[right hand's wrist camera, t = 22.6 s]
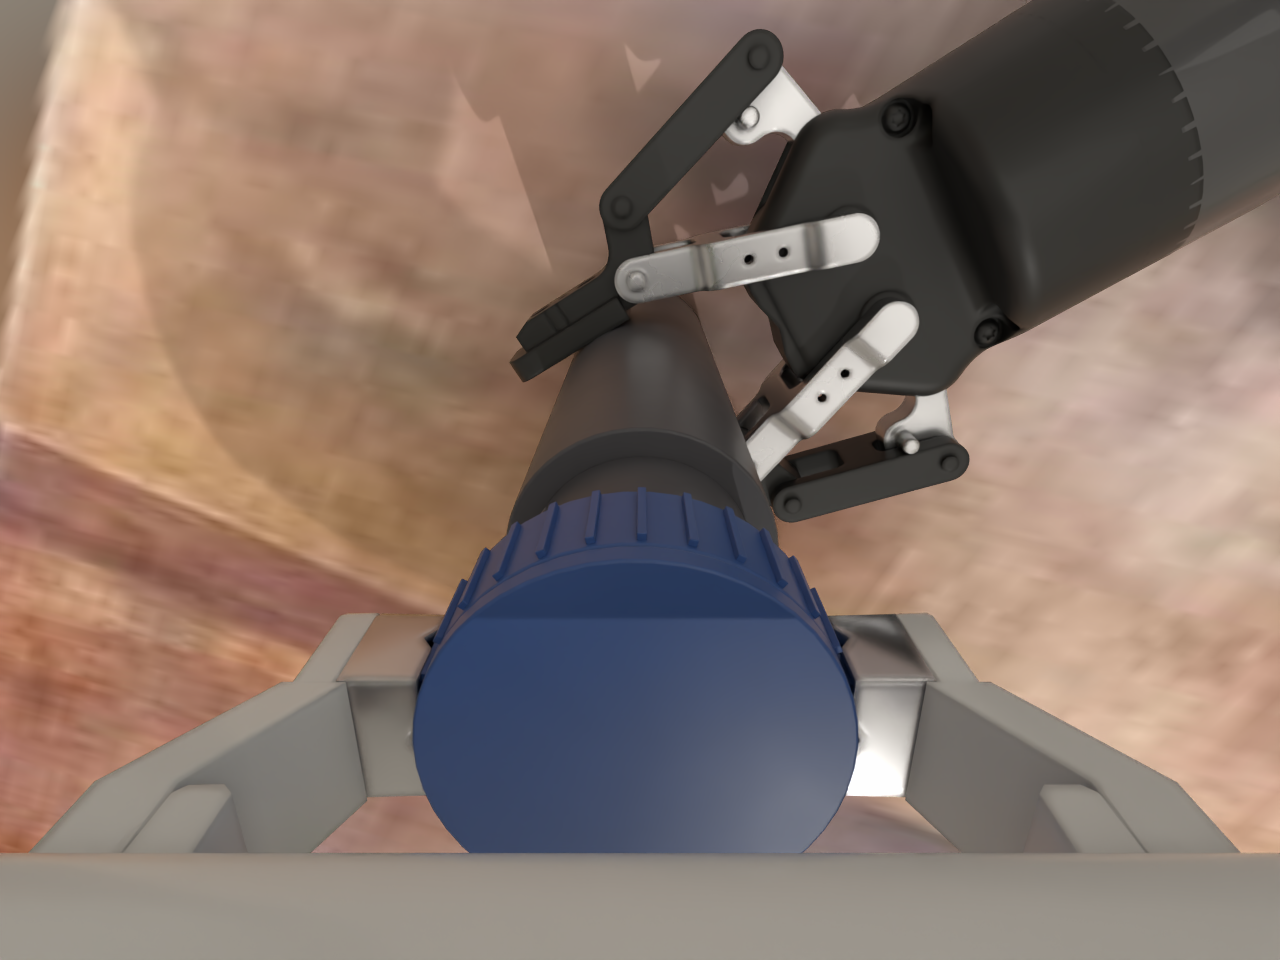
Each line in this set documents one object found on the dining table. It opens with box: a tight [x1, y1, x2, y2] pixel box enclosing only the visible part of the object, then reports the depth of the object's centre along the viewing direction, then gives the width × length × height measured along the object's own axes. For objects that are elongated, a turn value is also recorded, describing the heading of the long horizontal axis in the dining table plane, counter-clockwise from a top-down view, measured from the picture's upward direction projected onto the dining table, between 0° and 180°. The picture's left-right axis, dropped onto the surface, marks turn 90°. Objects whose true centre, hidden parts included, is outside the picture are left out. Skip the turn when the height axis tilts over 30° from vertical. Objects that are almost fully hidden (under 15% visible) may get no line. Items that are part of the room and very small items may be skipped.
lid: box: [412, 487, 858, 853], centre depth 9 cm, size 5×5×2 cm
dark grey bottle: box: [507, 296, 778, 546], centre depth 20 cm, size 5×5×18 cm
